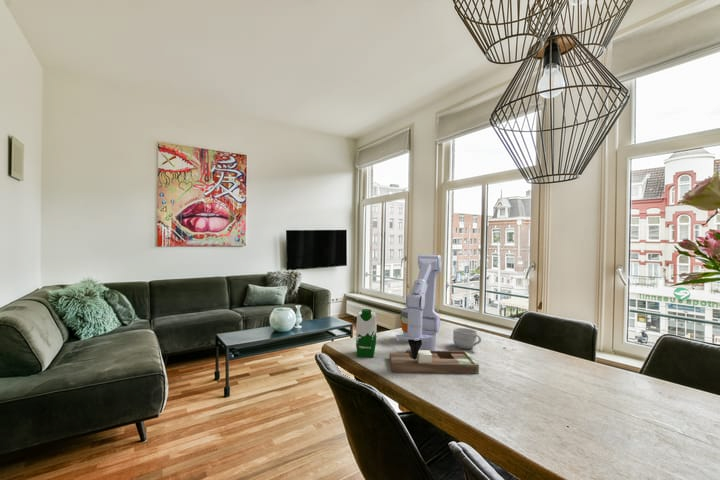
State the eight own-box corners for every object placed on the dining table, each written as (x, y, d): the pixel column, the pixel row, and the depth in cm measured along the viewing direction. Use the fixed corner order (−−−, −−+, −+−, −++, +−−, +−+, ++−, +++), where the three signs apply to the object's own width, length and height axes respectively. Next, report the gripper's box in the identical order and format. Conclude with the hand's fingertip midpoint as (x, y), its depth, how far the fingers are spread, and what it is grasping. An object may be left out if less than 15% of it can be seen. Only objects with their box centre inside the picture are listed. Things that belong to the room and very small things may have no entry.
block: (416, 359, 134) (417, 350, 133) (429, 360, 134) (429, 350, 133) (419, 364, 129) (419, 354, 128) (431, 365, 129) (432, 354, 128)
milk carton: (354, 357, 141) (355, 310, 141) (357, 349, 150) (357, 306, 150) (375, 358, 141) (376, 311, 140) (376, 351, 150) (377, 307, 149)
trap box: (388, 357, 142) (388, 350, 142) (465, 358, 142) (466, 351, 142) (392, 372, 127) (392, 363, 127) (478, 373, 127) (478, 365, 127)
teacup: (448, 344, 160) (448, 328, 160) (465, 341, 165) (465, 325, 164) (468, 354, 147) (469, 336, 147) (486, 351, 152) (487, 333, 152)
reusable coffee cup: (411, 334, 175) (412, 306, 174) (430, 340, 165) (431, 311, 165) (394, 339, 167) (395, 309, 166) (413, 346, 157) (414, 314, 157)
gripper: (397, 327, 127) (397, 362, 128) (435, 327, 127) (434, 362, 128) (395, 322, 134) (395, 355, 135) (431, 322, 134) (430, 355, 135)
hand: (414, 358), depth 132 cm, fingers closed
